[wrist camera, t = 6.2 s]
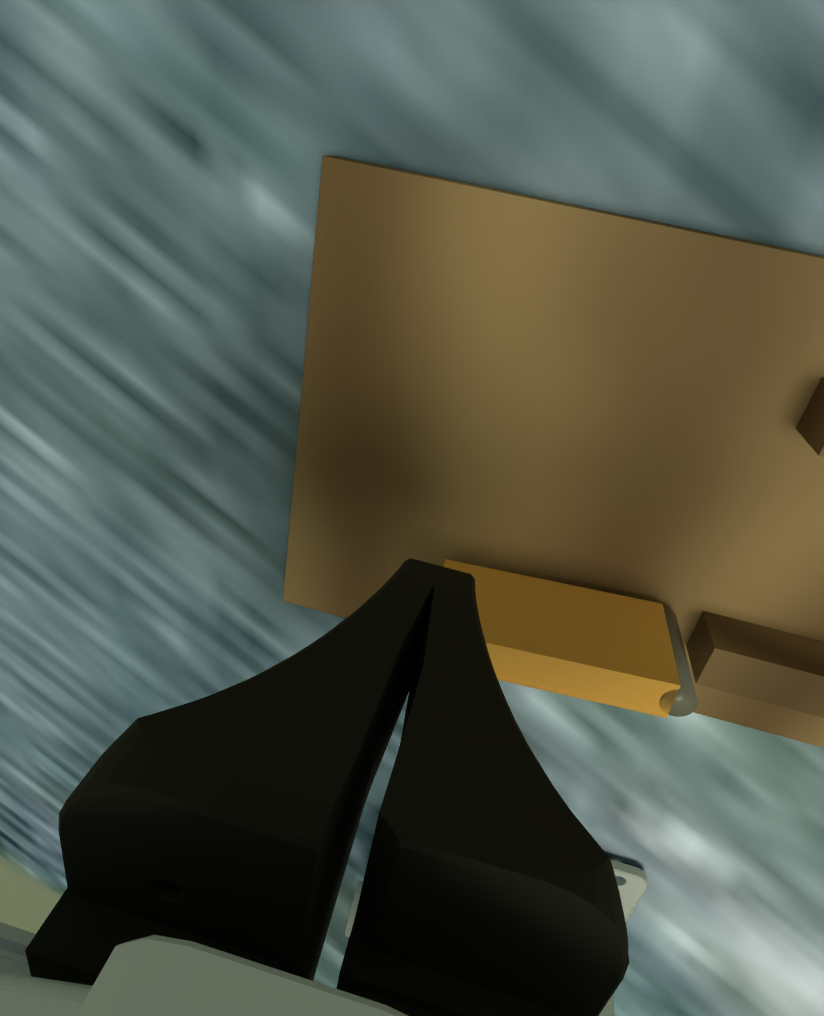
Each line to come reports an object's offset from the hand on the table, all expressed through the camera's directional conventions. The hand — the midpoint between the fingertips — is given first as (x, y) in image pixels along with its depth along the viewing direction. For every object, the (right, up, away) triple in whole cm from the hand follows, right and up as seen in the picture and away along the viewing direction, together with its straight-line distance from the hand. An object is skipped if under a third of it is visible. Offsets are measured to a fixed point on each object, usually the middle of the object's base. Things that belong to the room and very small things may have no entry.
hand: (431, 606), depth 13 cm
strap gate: (+4, 0, +5) cm, 6 cm away
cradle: (+11, +1, +3) cm, 12 cm away
